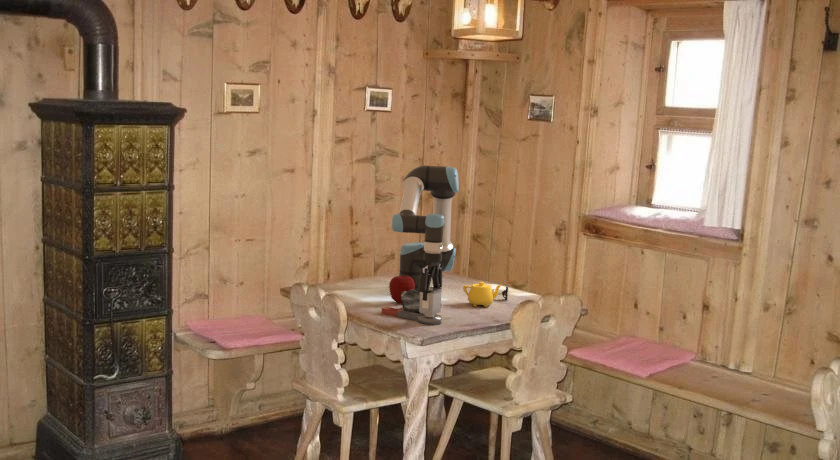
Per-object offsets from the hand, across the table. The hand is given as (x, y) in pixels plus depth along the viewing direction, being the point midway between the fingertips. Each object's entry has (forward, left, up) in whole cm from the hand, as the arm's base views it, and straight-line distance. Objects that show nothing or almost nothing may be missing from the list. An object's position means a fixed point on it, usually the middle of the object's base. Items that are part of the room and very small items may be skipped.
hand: (430, 306), depth 351 cm
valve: (-1, +60, -7) cm, 60 cm away
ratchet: (-9, 0, -7) cm, 11 cm away
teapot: (+1, +44, -7) cm, 45 cm away
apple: (-28, +21, -7) cm, 36 cm away
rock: (-15, +12, -7) cm, 21 cm away
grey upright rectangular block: (0, 0, -2) cm, 2 cm away
